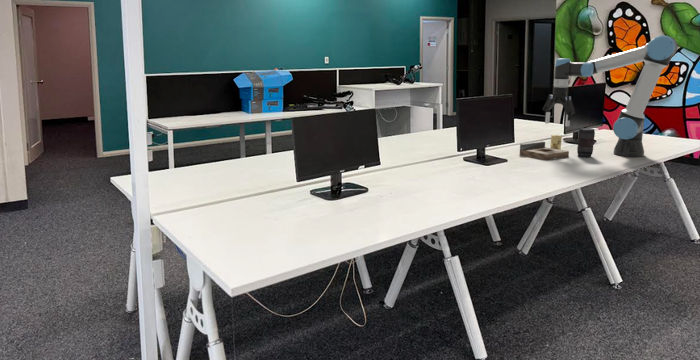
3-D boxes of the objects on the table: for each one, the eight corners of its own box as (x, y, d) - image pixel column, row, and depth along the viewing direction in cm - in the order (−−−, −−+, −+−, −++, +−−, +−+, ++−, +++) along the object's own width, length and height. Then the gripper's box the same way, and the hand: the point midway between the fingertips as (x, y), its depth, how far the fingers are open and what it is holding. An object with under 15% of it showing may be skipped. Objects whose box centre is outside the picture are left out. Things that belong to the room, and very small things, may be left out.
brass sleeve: (562, 151, 317) (563, 135, 315) (556, 152, 315) (557, 136, 313) (554, 150, 322) (555, 134, 320) (547, 151, 319) (549, 135, 317)
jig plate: (568, 156, 302) (569, 145, 300) (546, 160, 293) (547, 148, 291) (541, 151, 317) (542, 141, 315) (519, 154, 307) (520, 144, 306)
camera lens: (589, 155, 306) (592, 128, 303) (594, 158, 298) (597, 130, 295) (574, 155, 307) (576, 127, 304) (578, 157, 299) (581, 129, 296)
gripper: (537, 85, 319) (534, 122, 323) (575, 88, 298) (571, 127, 303) (546, 85, 322) (543, 121, 327) (584, 87, 302) (580, 127, 307)
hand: (557, 124), depth 315 cm, fingers open, 13 cm apart
